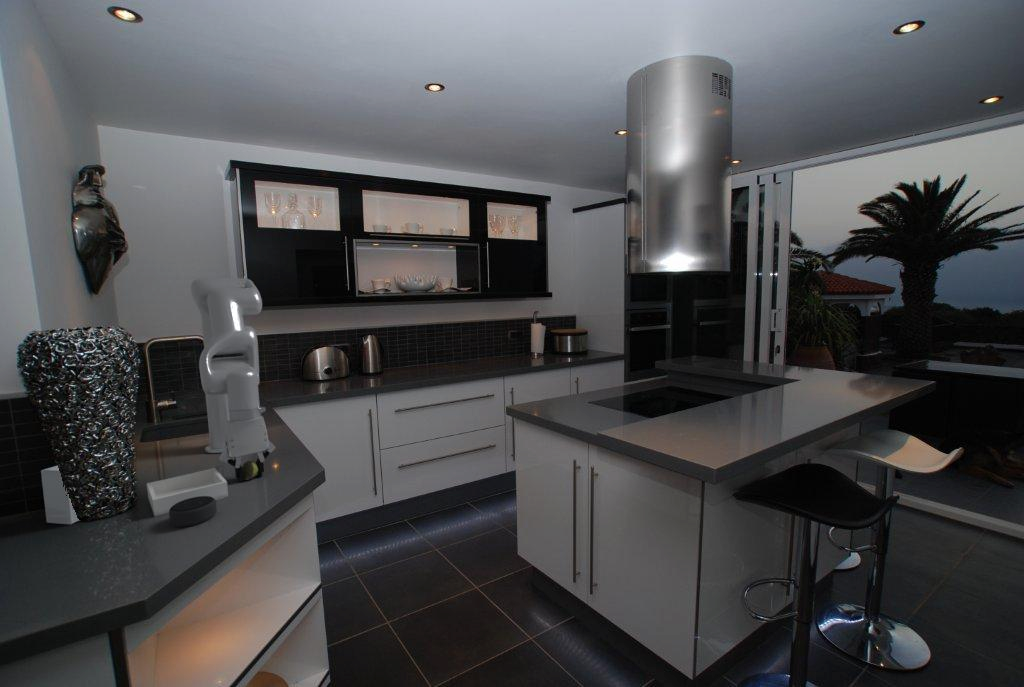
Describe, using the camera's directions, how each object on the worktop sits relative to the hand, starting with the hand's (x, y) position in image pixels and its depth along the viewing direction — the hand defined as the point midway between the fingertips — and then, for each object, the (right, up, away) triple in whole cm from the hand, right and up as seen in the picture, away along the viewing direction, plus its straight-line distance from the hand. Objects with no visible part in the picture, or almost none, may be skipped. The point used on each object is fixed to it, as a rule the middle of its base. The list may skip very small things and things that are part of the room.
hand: (250, 477), depth 130 cm
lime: (0, -1, 0) cm, 1 cm away
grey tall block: (-29, -3, -21) cm, 36 cm away
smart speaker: (+1, -3, -25) cm, 25 cm away
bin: (-9, -2, -12) cm, 15 cm away
